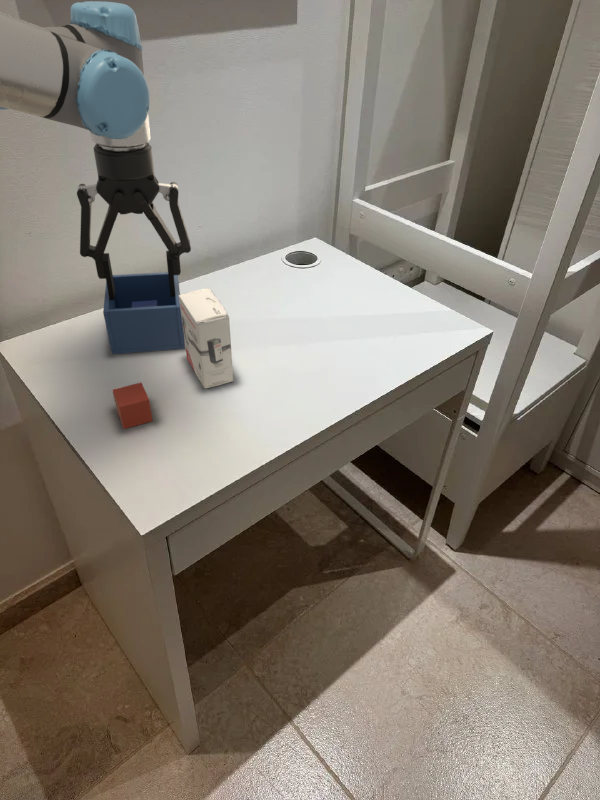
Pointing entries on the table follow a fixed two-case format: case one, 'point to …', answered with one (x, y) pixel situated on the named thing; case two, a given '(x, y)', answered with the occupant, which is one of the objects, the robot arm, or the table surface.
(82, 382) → the table surface
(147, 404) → the terracotta block
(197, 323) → the ink box
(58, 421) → the table surface
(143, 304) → the blue block
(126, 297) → the blue bin
